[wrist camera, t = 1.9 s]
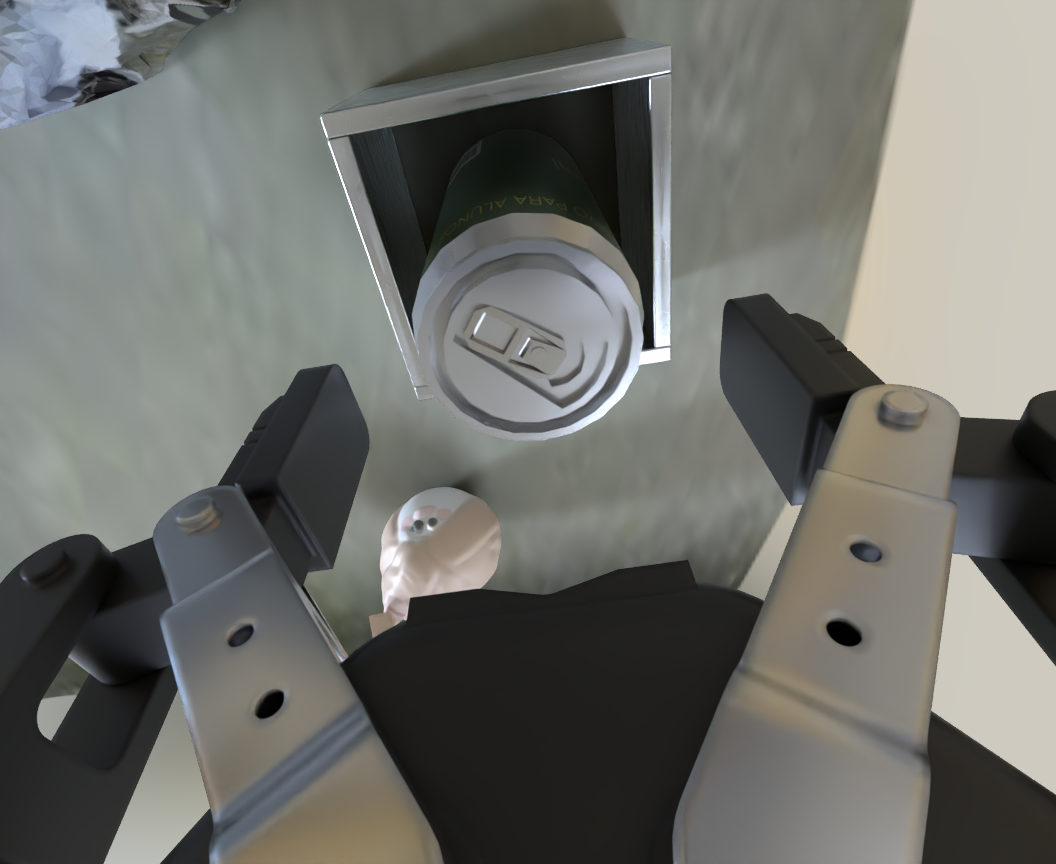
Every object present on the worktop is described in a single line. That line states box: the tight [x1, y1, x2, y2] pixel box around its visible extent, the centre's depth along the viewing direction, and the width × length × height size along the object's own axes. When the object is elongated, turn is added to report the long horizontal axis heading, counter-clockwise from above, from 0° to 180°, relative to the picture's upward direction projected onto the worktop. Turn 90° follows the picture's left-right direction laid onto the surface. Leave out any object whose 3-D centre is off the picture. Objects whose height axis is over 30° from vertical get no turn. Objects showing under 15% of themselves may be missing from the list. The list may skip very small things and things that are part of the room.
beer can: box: [412, 129, 644, 440], centre depth 16 cm, size 5×5×12 cm
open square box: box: [320, 37, 672, 400], centre depth 19 cm, size 9×9×6 cm
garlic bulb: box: [369, 487, 501, 638], centre depth 28 cm, size 7×6×8 cm
